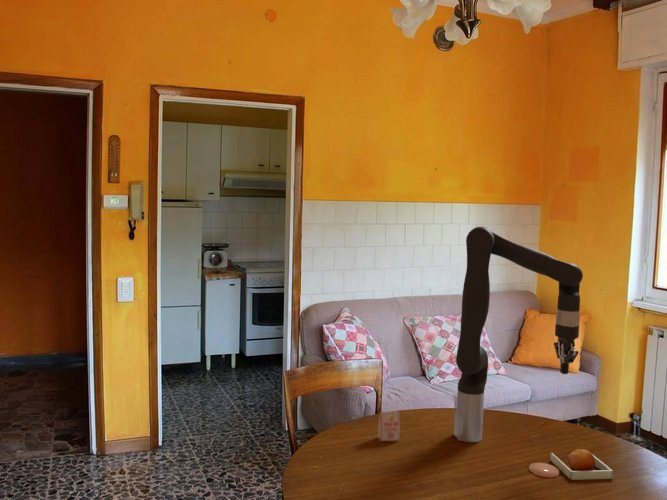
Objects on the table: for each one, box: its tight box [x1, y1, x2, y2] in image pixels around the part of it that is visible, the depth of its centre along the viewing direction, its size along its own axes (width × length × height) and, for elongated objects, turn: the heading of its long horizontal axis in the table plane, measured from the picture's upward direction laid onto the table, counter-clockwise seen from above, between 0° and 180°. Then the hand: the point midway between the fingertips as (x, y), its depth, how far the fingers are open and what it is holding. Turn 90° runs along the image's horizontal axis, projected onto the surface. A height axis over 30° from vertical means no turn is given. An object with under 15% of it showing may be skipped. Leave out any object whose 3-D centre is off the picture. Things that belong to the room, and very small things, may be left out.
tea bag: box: [377, 410, 401, 442], centre depth 216 cm, size 4×7×10 cm, turn 98°
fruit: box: [567, 448, 596, 471], centre depth 195 cm, size 8×8×8 cm
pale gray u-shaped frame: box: [550, 452, 614, 481], centre depth 197 cm, size 14×14×2 cm
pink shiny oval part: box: [528, 462, 560, 478], centre depth 195 cm, size 9×9×1 cm
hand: (564, 373), depth 209 cm, fingers closed
